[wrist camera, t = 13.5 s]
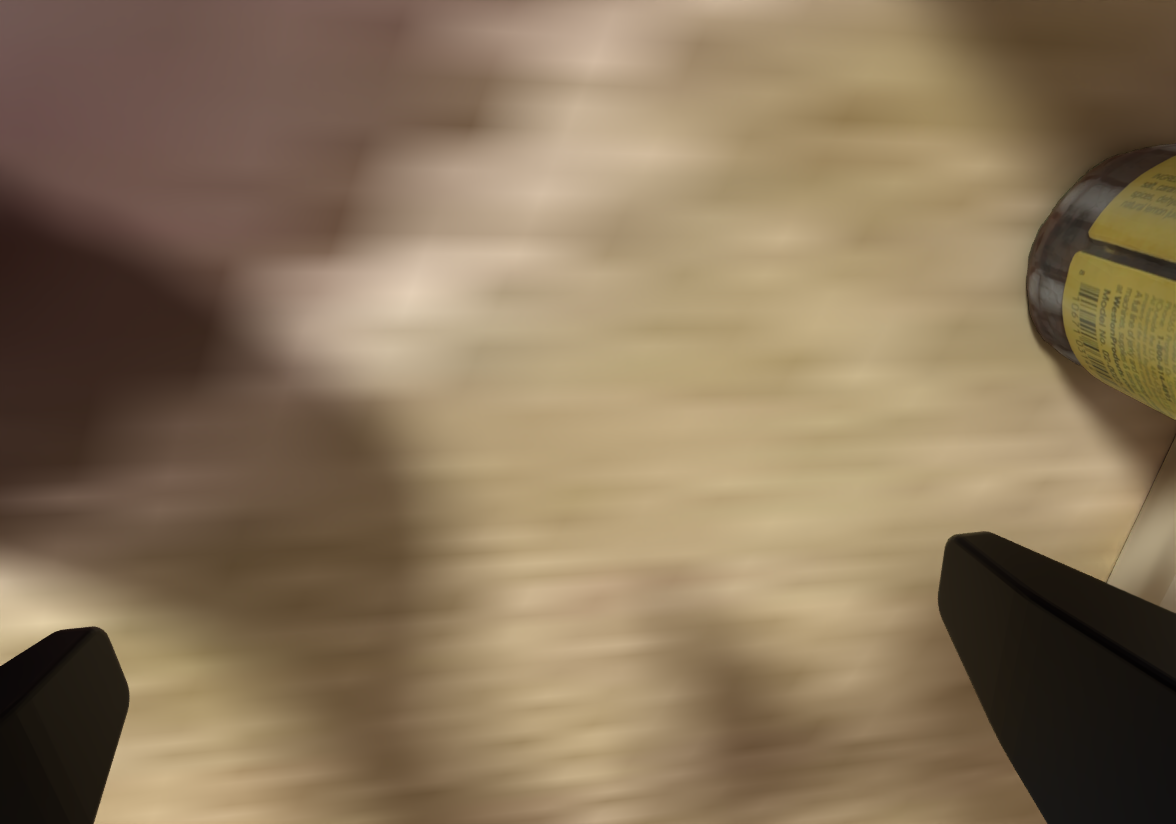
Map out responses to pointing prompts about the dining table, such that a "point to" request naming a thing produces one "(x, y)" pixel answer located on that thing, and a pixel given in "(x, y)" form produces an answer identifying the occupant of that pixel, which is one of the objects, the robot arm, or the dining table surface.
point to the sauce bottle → (1113, 275)
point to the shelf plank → (1152, 544)
